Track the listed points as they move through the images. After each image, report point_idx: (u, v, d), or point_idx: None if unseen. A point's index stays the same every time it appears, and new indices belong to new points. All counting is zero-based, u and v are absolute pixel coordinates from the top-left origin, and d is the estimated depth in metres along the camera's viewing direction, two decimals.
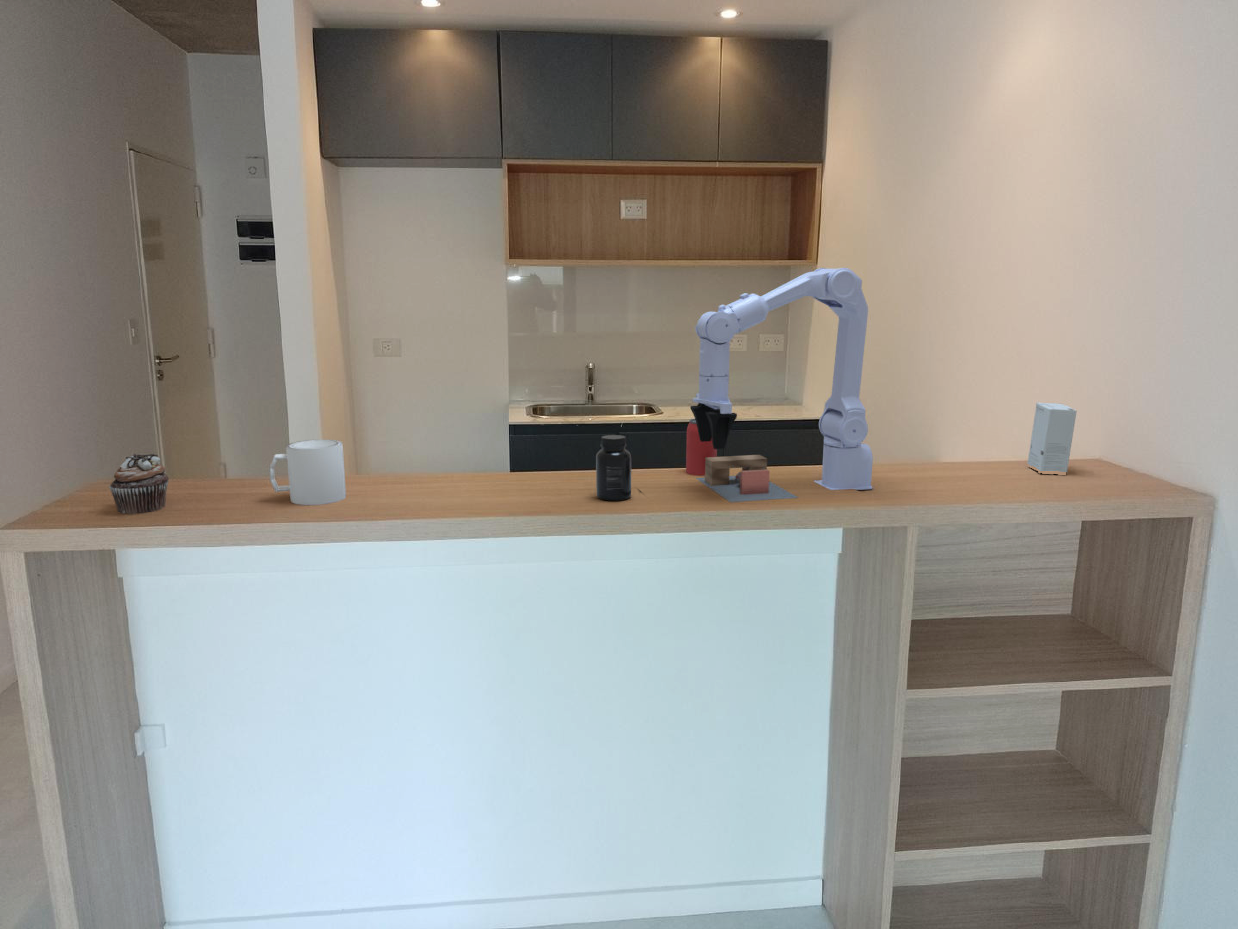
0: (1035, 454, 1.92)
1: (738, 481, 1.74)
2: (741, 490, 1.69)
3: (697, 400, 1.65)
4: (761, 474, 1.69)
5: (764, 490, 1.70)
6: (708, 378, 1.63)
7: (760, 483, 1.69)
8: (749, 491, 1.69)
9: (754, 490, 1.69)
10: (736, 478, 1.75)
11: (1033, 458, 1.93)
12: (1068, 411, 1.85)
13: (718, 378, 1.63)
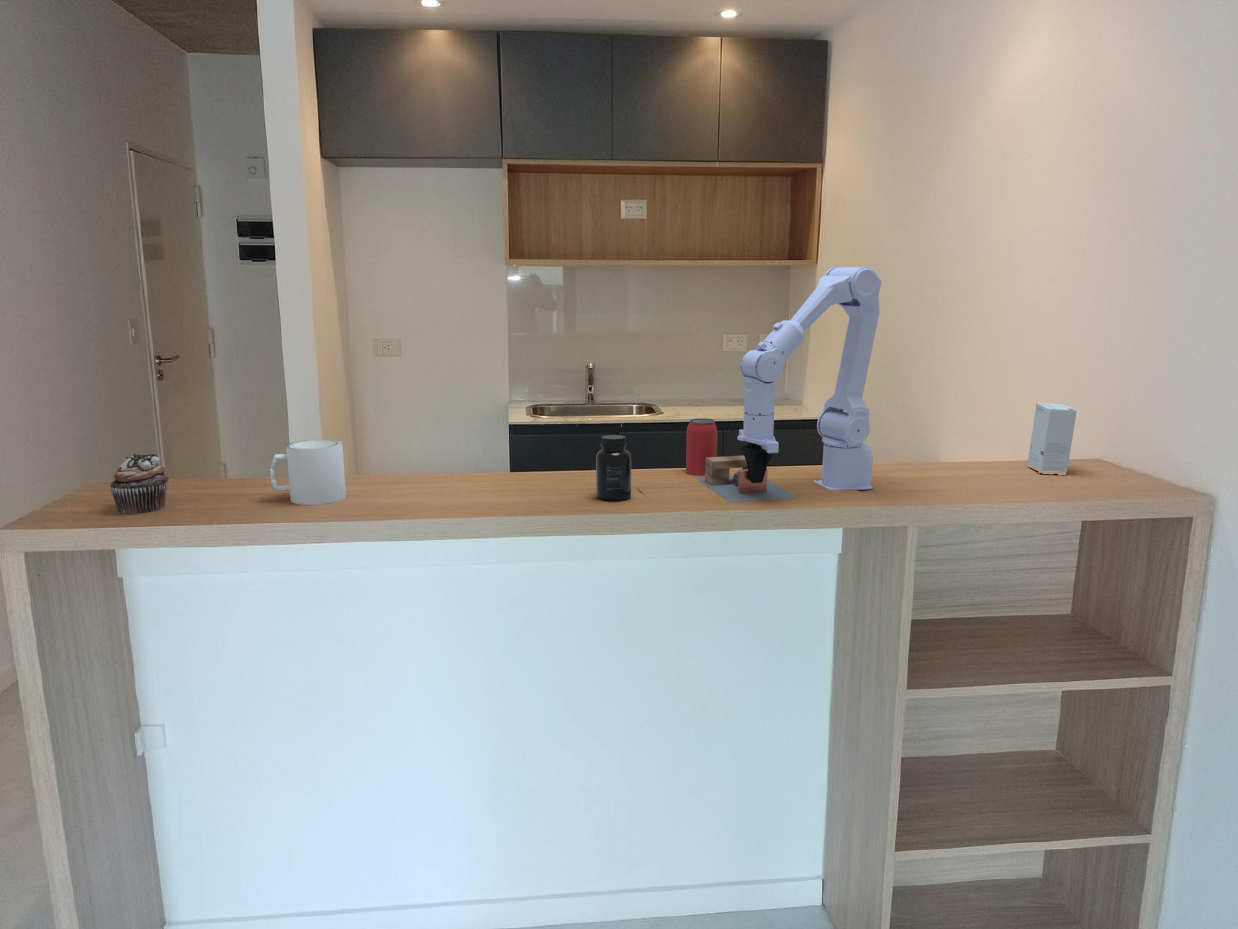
0: (1035, 454, 1.92)
1: (736, 480, 1.75)
2: (739, 489, 1.70)
3: (742, 438, 1.65)
4: None
5: (762, 489, 1.71)
6: (754, 417, 1.63)
7: None
8: (747, 490, 1.70)
9: (752, 489, 1.70)
10: (734, 478, 1.76)
11: (1033, 458, 1.93)
12: (1068, 411, 1.85)
13: (764, 417, 1.63)
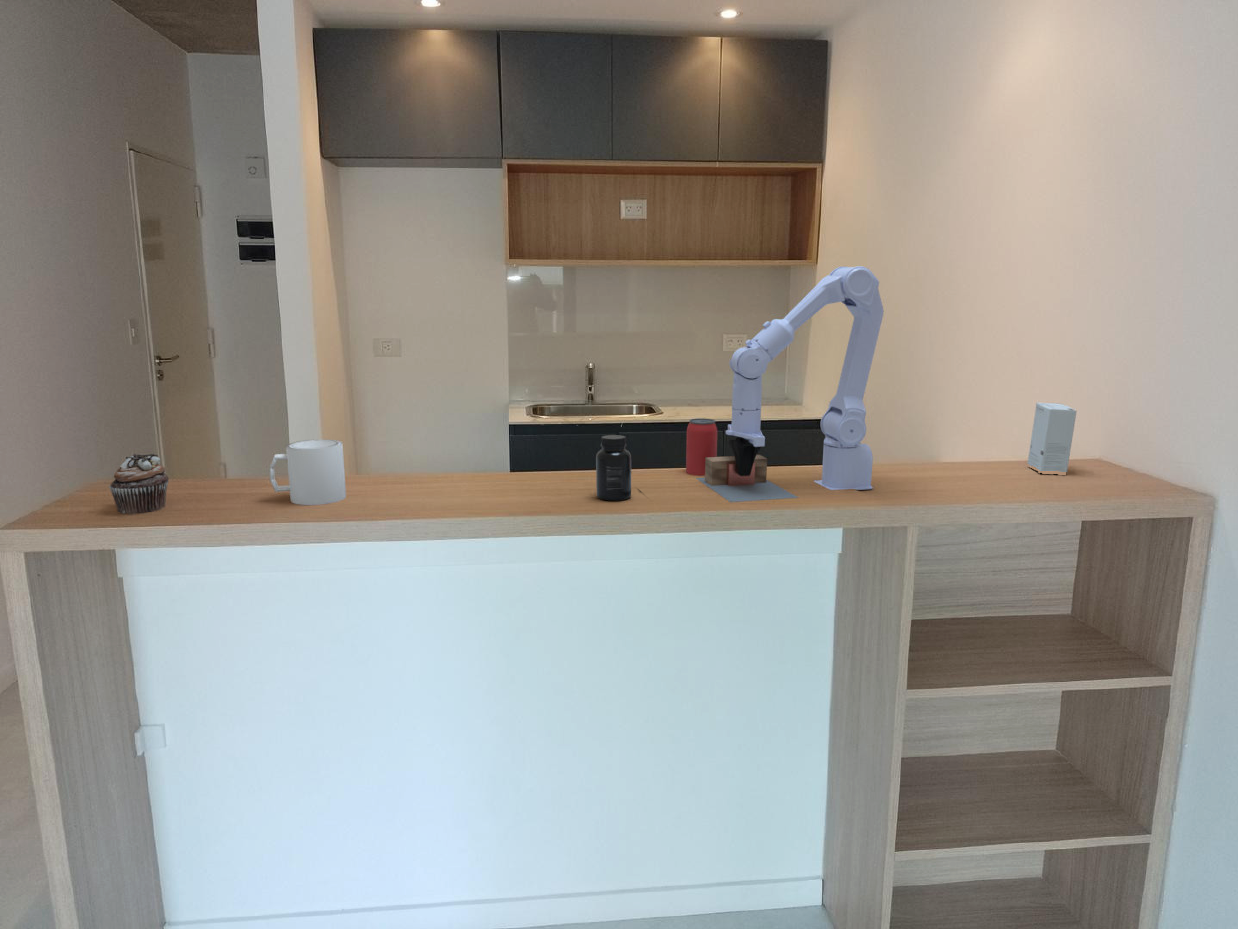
0: (1035, 454, 1.92)
1: None
2: (728, 482, 1.76)
3: (730, 433, 1.71)
4: None
5: (749, 481, 1.77)
6: (741, 412, 1.69)
7: None
8: (735, 483, 1.76)
9: (740, 482, 1.76)
10: None
11: (1033, 458, 1.93)
12: (1068, 411, 1.85)
13: (751, 412, 1.69)
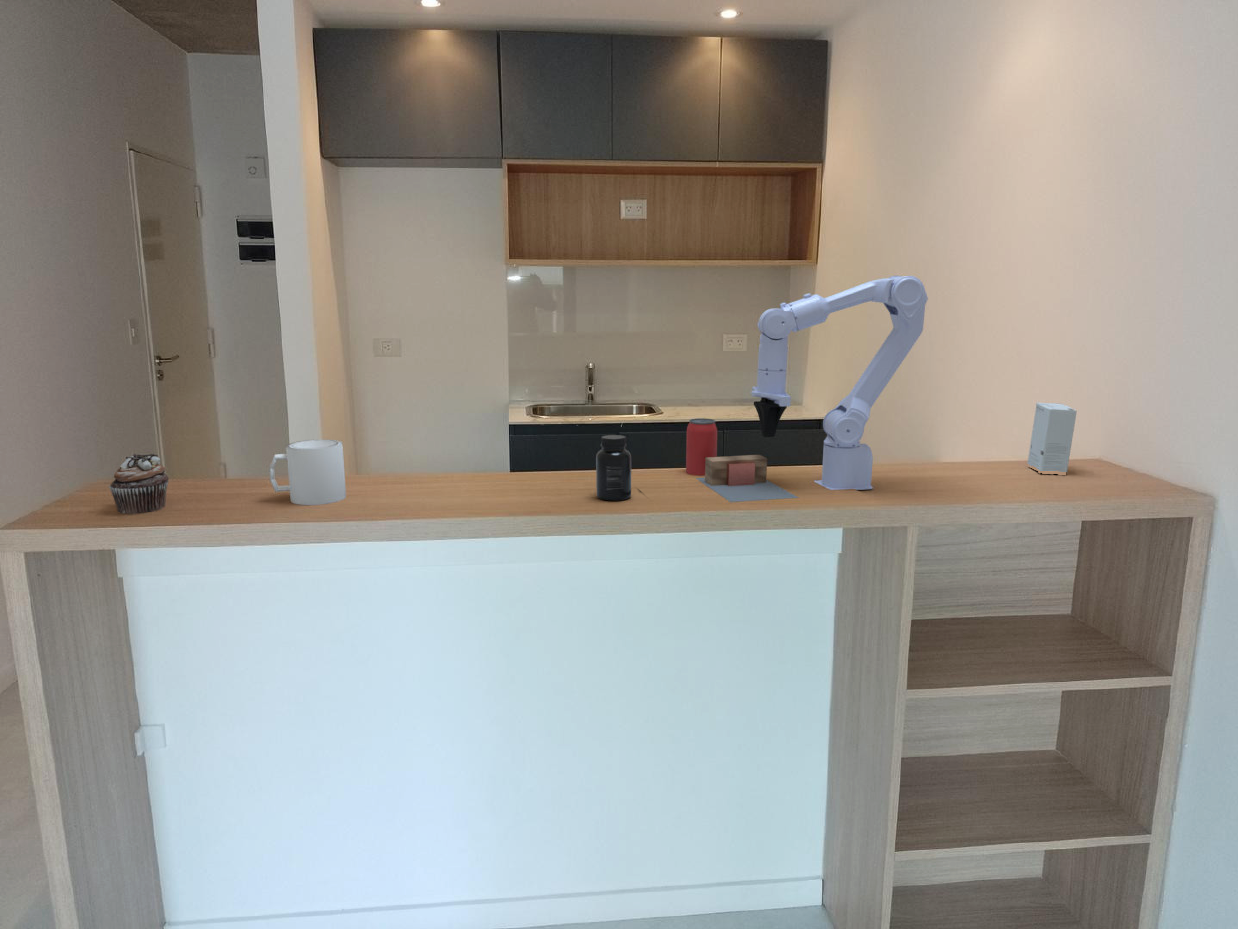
0: (1035, 454, 1.92)
1: None
2: (728, 482, 1.76)
3: (756, 393, 1.72)
4: (747, 466, 1.76)
5: (749, 481, 1.77)
6: (767, 372, 1.71)
7: (746, 475, 1.76)
8: (735, 483, 1.76)
9: (740, 482, 1.76)
10: None
11: (1033, 458, 1.93)
12: (1068, 411, 1.85)
13: (777, 372, 1.70)
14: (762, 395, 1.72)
